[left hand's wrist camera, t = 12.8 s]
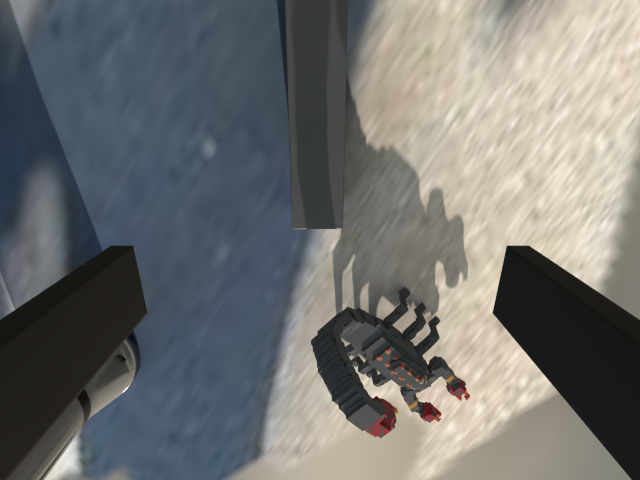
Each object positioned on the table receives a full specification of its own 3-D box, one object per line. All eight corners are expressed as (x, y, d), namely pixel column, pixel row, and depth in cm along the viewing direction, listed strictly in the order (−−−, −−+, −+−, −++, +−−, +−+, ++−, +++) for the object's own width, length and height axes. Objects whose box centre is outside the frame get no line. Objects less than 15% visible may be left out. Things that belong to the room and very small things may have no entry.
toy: (358, 243, 43) (382, 332, 26) (485, 361, 50) (570, 494, 33) (286, 309, 47) (267, 425, 30) (414, 411, 54) (459, 554, 37)
